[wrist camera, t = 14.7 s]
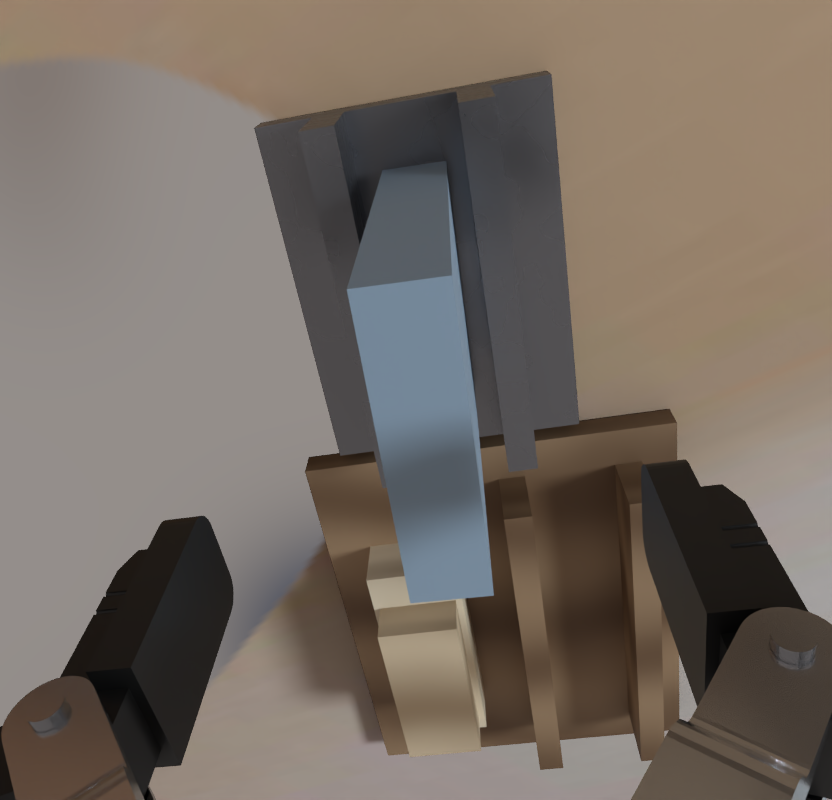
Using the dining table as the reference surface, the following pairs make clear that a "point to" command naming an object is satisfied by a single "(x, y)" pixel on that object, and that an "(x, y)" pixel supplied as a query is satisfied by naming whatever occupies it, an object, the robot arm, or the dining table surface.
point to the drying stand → (475, 235)
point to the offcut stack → (427, 661)
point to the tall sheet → (422, 383)
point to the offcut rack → (537, 586)
